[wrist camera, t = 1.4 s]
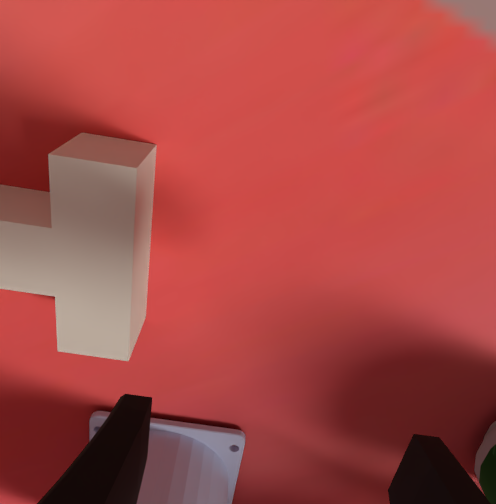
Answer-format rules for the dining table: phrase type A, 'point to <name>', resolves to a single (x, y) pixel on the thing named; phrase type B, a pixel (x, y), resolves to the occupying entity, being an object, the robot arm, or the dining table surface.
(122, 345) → the t block
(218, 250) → the dining table surface
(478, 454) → the soda can
